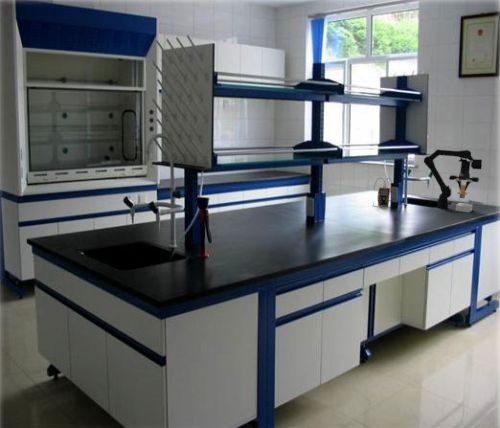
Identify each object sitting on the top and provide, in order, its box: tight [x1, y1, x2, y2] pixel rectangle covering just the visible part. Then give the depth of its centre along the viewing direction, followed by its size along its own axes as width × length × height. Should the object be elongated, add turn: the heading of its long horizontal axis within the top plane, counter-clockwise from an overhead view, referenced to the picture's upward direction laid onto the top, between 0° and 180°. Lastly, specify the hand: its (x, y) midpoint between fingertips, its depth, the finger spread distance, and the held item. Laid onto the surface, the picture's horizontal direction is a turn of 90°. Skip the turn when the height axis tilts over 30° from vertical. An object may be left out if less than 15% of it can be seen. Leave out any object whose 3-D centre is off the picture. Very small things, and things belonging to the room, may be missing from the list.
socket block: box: [455, 202, 474, 213], centre depth 385 cm, size 9×10×4 cm
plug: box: [456, 184, 469, 199], centre depth 387 cm, size 6×6×9 cm
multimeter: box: [372, 177, 393, 208], centre depth 388 cm, size 15×10×20 cm
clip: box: [467, 199, 484, 206], centre depth 383 cm, size 2×11×2 cm, turn 28°
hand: (462, 190), depth 387 cm, fingers closed on plug, 3 cm apart
